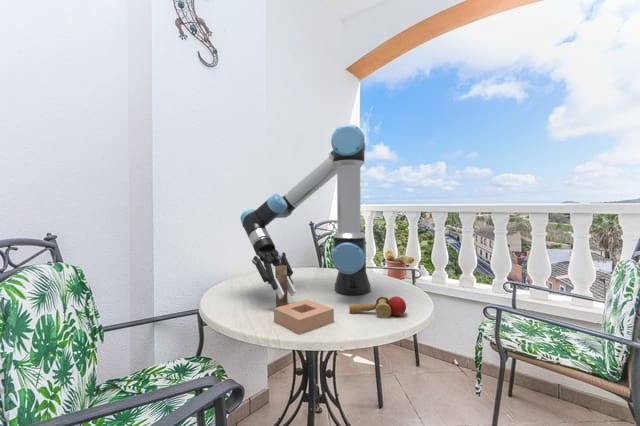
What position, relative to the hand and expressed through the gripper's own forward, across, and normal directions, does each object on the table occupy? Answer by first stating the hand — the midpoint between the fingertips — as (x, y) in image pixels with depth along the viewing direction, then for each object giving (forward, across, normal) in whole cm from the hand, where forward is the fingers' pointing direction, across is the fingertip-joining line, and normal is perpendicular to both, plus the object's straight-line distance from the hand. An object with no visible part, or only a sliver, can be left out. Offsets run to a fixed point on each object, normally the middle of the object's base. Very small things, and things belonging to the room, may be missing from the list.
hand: (287, 295), depth 98 cm
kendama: (+20, -19, +12) cm, 30 cm away
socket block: (+12, +2, +4) cm, 13 cm away
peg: (+1, 0, -6) cm, 6 cm away
